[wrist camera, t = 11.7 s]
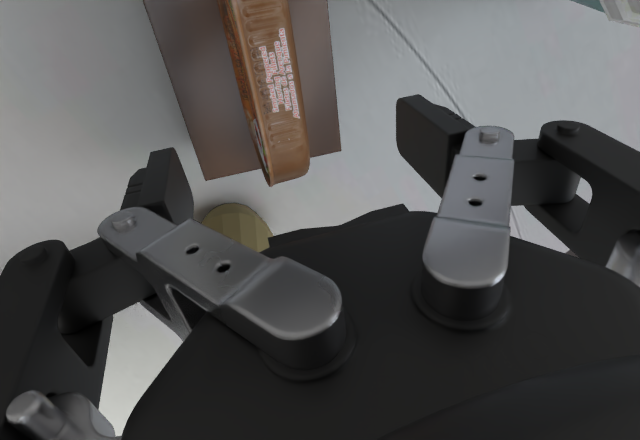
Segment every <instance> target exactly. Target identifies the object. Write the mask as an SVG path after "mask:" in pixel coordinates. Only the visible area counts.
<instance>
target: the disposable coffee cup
mask: <svg viewBox="0 0 640 440" xmlns="http://www.w3.org/2000/svg"><path fill="white" fill-rule="evenodd" d="M571 1H574V2H577V3H579V4H582V5H585V6H587V7H590V8H593V9H596V10H598V11H601V12H604V13H606V15H607V17H608V19H609V21H614V22H618V23H622V24H627V25H631V26H636V27H640V0H571Z"/></svg>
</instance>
